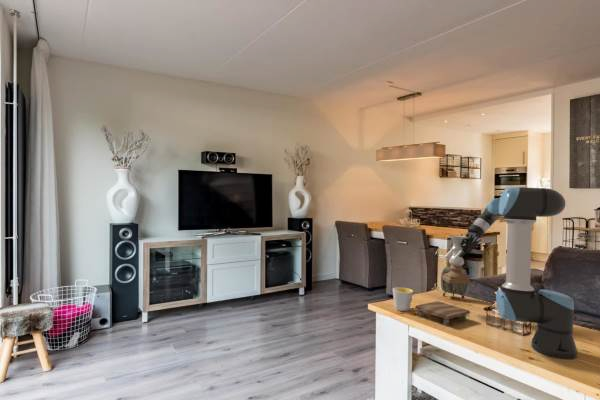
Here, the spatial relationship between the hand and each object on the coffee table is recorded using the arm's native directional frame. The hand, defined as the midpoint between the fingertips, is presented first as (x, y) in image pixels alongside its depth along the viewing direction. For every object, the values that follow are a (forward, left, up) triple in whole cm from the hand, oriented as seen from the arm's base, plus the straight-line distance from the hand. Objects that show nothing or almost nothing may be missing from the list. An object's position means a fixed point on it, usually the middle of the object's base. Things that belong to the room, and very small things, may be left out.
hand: (450, 259), depth 195 cm
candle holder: (-1, -3, -12) cm, 12 cm away
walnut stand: (-4, +12, -27) cm, 30 cm away
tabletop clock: (+15, -27, -28) cm, 41 cm away
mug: (+15, +17, -28) cm, 36 cm away
